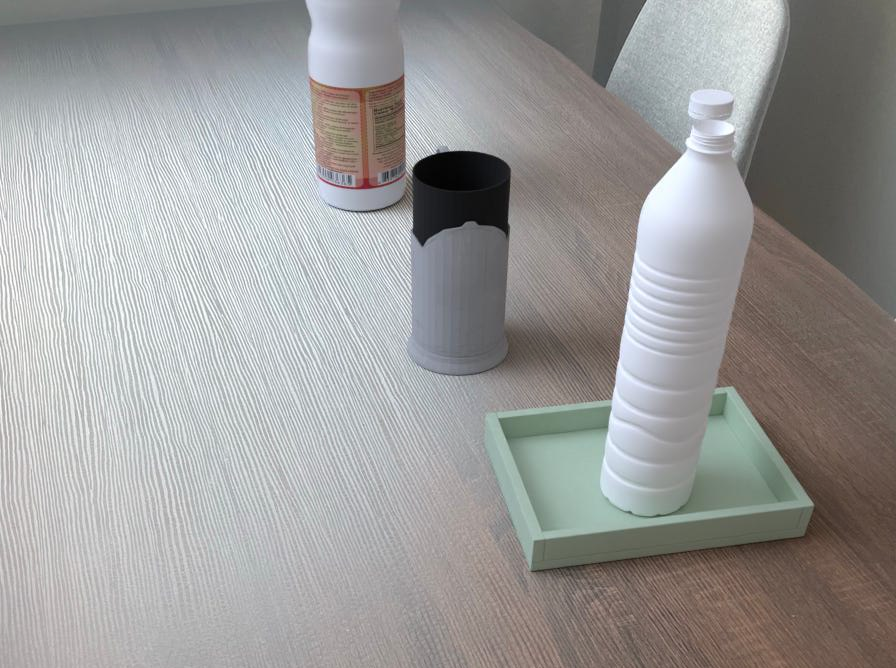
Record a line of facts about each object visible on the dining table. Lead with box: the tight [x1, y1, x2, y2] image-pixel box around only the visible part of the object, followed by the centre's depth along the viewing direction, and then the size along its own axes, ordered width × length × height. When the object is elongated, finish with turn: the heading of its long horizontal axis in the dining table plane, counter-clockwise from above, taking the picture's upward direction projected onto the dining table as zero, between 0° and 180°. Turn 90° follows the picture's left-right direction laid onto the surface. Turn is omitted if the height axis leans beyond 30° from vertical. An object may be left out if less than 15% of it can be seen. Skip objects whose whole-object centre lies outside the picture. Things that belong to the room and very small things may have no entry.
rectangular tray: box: [483, 386, 815, 572], centre depth 74 cm, size 20×15×3 cm
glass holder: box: [406, 145, 512, 376], centre depth 85 cm, size 9×14×15 cm, turn 9°
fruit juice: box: [304, 0, 407, 212], centre depth 99 cm, size 9×9×28 cm
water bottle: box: [600, 88, 755, 516], centre depth 65 cm, size 9×6×25 cm
